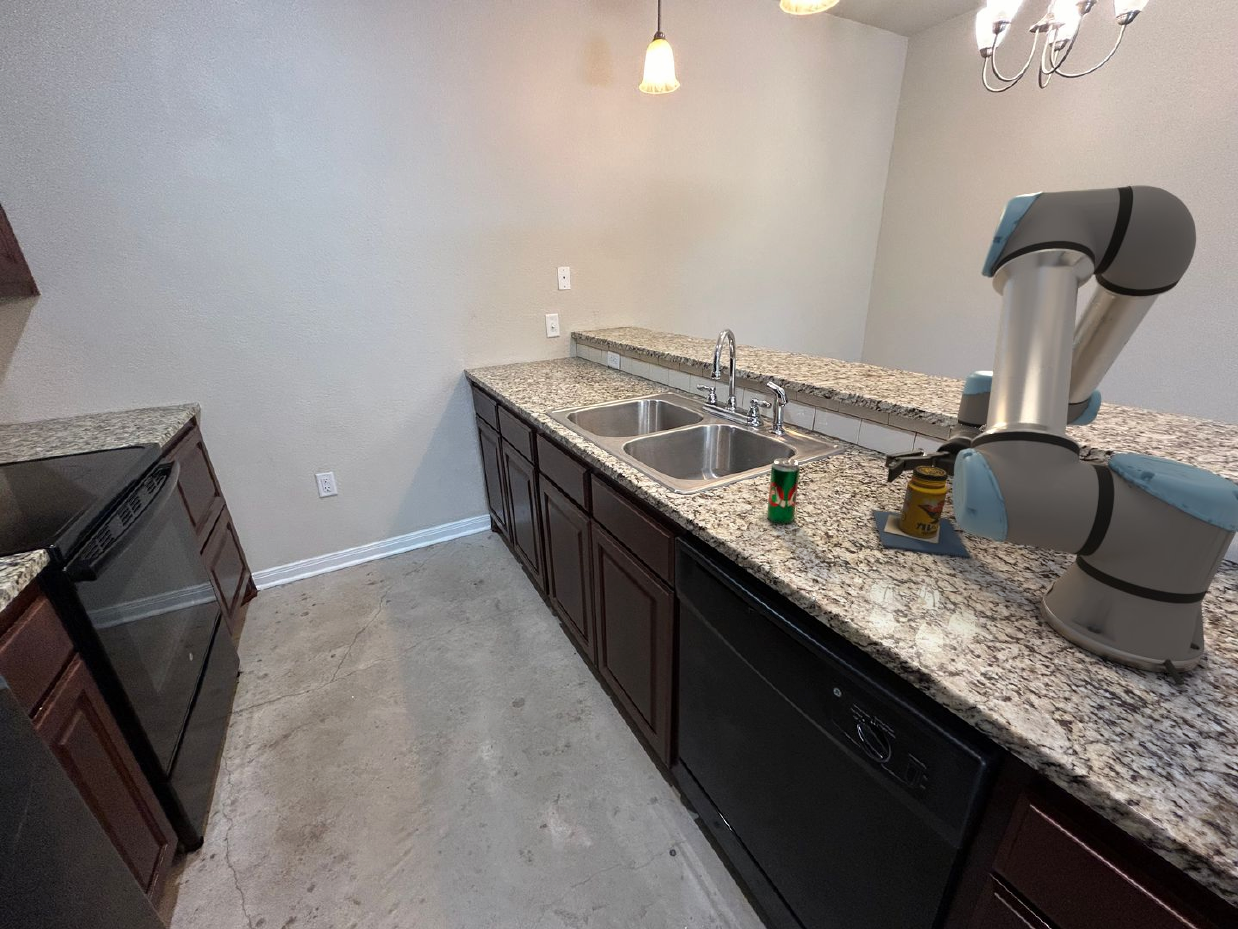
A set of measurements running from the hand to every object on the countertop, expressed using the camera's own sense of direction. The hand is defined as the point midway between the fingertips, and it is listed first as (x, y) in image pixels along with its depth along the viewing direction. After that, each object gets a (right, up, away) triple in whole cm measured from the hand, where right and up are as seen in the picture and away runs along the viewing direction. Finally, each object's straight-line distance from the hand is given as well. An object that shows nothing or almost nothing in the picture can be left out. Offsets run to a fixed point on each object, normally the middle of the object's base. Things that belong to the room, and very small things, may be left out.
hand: (930, 485), depth 90 cm
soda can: (-25, -7, +8) cm, 27 cm away
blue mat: (-2, -9, +1) cm, 9 cm away
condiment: (-2, -8, +2) cm, 9 cm away
